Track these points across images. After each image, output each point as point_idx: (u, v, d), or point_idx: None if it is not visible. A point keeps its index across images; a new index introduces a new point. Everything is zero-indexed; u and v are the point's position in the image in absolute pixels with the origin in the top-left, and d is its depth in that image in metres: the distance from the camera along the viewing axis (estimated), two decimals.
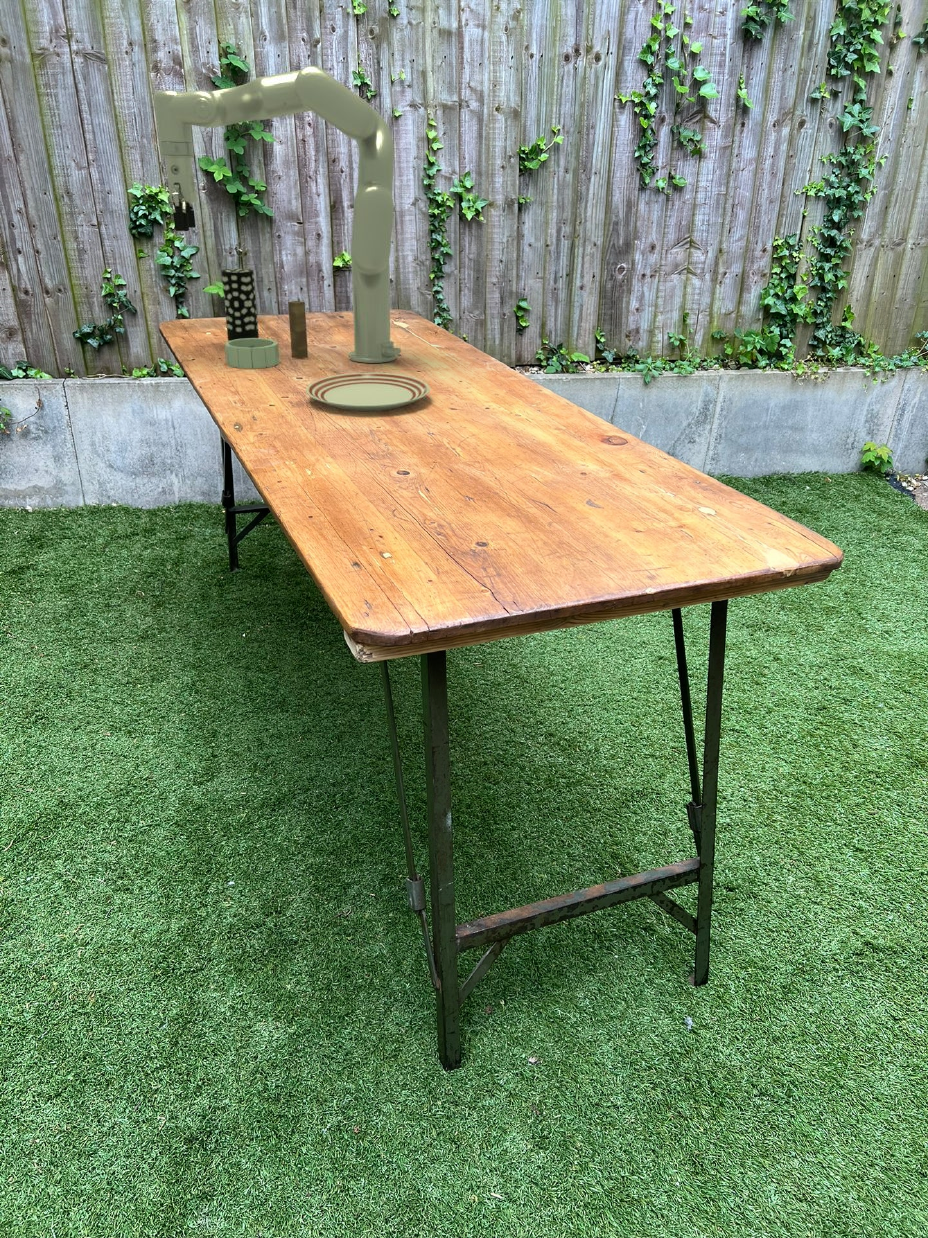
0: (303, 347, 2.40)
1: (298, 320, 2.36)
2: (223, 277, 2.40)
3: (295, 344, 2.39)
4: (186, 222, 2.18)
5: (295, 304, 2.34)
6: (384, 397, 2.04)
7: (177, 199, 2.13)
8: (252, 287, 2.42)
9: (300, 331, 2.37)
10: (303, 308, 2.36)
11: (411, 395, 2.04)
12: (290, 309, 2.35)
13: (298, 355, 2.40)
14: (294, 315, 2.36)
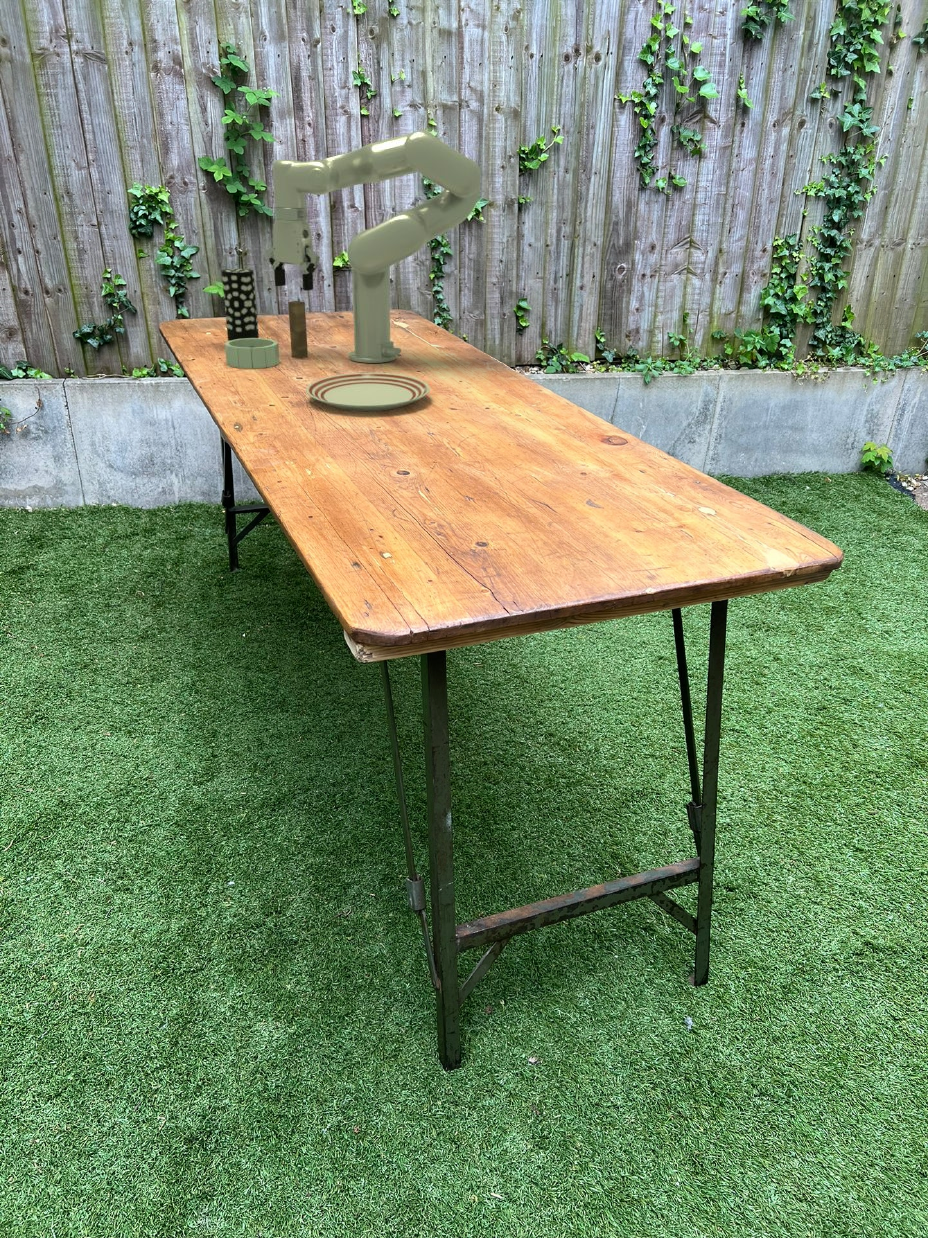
0: (303, 347, 2.40)
1: (298, 320, 2.36)
2: (223, 277, 2.40)
3: (295, 344, 2.39)
4: None
5: (295, 304, 2.34)
6: (384, 396, 2.04)
7: (317, 261, 2.27)
8: (252, 287, 2.43)
9: (300, 331, 2.37)
10: (303, 308, 2.36)
11: (411, 395, 2.04)
12: (290, 309, 2.35)
13: (298, 355, 2.40)
14: (294, 315, 2.36)
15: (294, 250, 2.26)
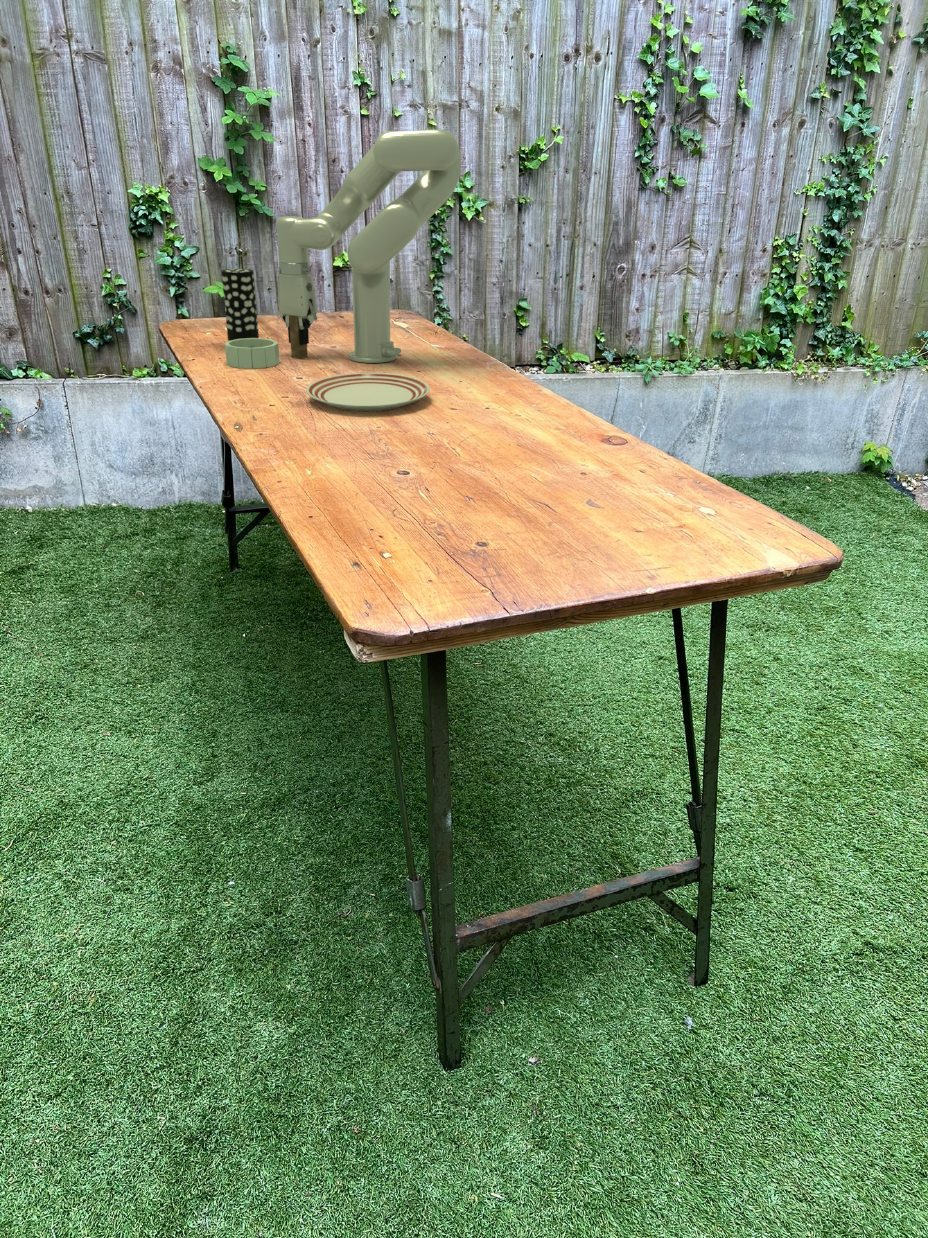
0: (303, 347, 2.40)
1: (298, 320, 2.36)
2: (223, 277, 2.40)
3: (295, 344, 2.39)
4: (307, 336, 2.39)
5: None
6: (384, 396, 2.04)
7: None
8: (252, 287, 2.42)
9: None
10: None
11: (411, 395, 2.04)
12: None
13: (298, 355, 2.40)
14: None
15: (298, 303, 2.32)
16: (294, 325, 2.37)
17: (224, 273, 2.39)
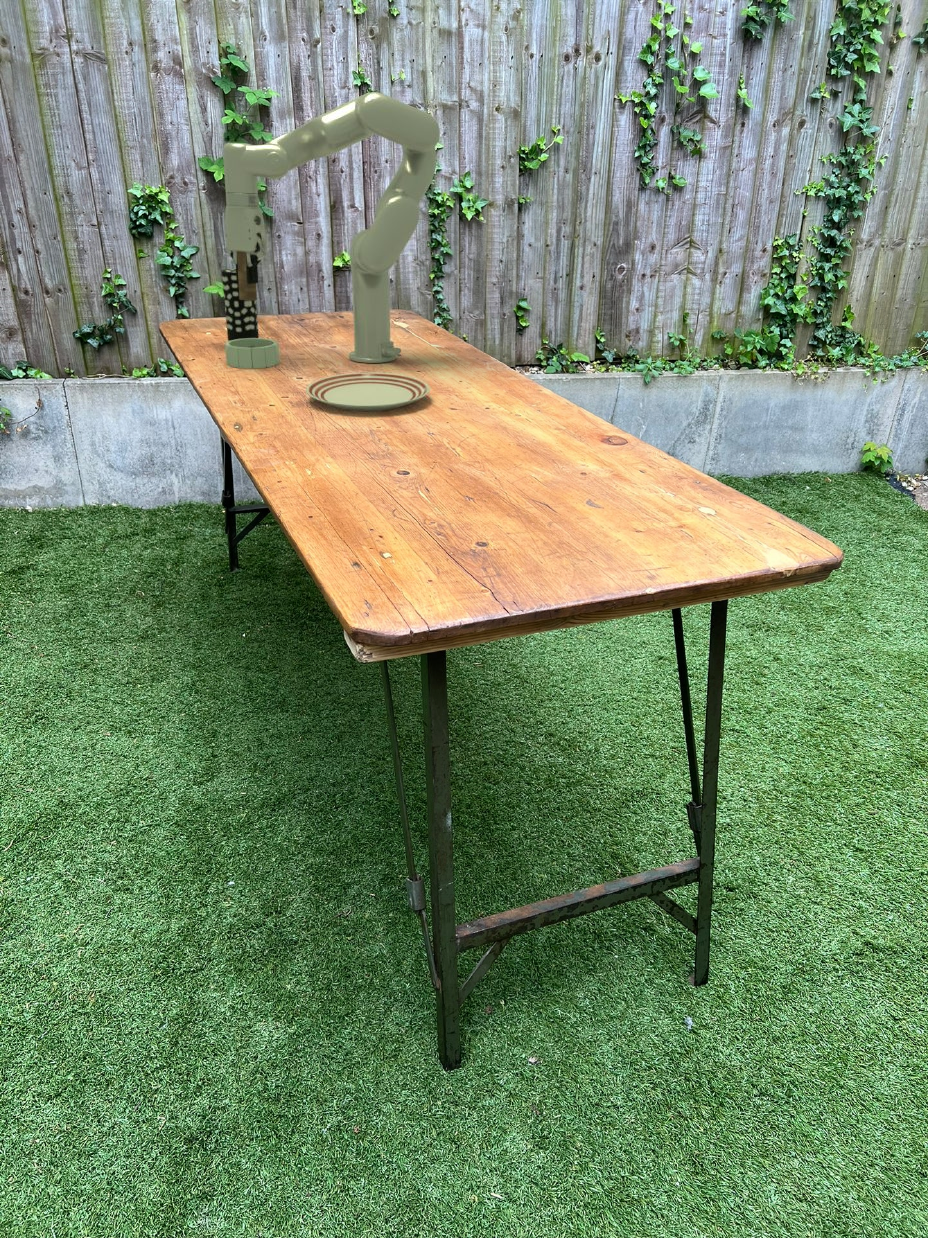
0: (251, 289, 2.25)
1: (246, 258, 2.21)
2: (223, 277, 2.40)
3: (243, 285, 2.25)
4: (256, 274, 2.25)
5: None
6: (384, 396, 2.04)
7: (262, 257, 2.20)
8: None
9: None
10: None
11: (411, 395, 2.04)
12: None
13: (246, 297, 2.25)
14: (242, 253, 2.21)
15: (246, 237, 2.18)
16: (242, 264, 2.22)
17: (224, 273, 2.39)
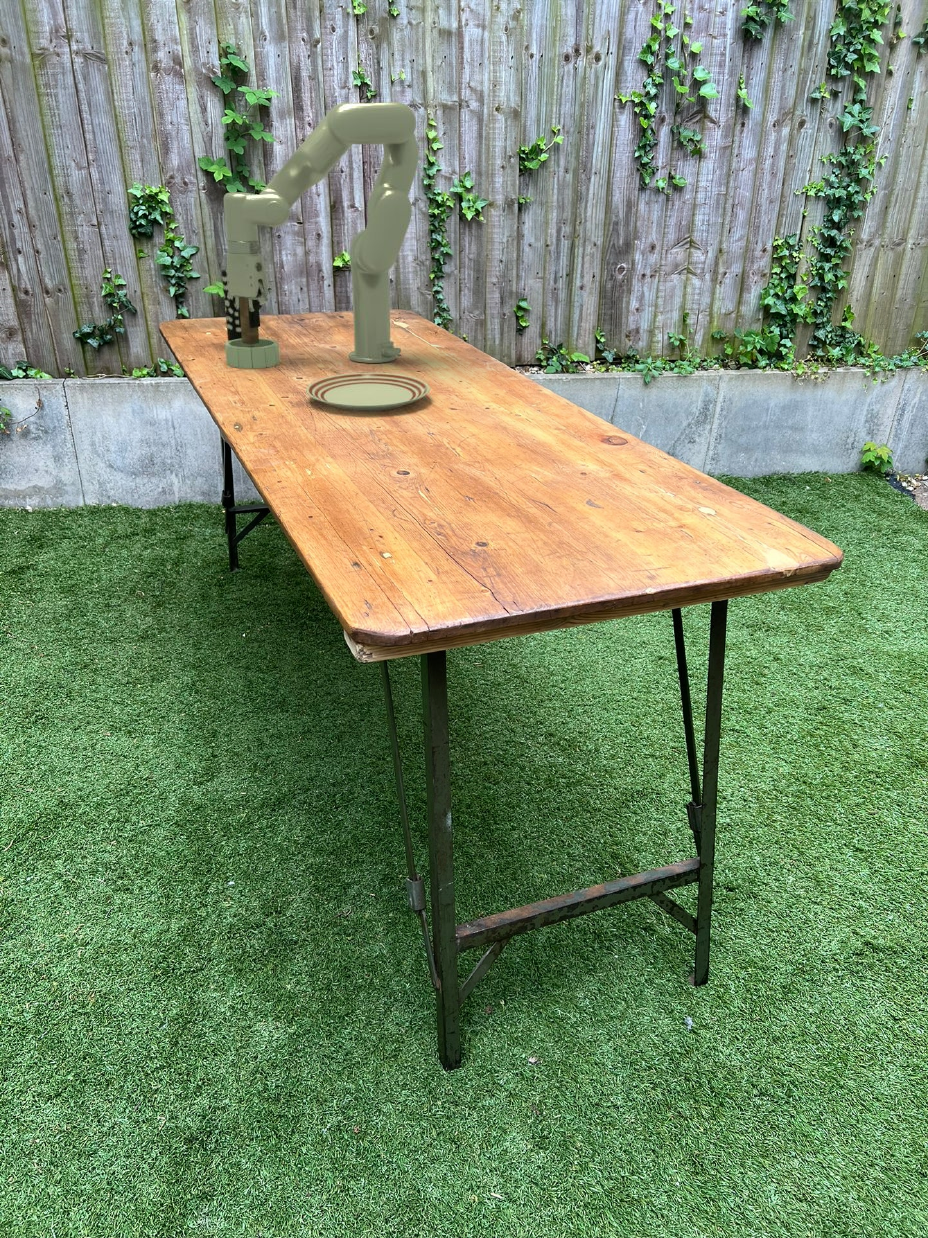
0: (254, 333, 2.30)
1: (248, 303, 2.26)
2: (223, 277, 2.40)
3: (246, 329, 2.29)
4: (258, 318, 2.29)
5: None
6: (384, 396, 2.04)
7: None
8: None
9: None
10: None
11: (411, 395, 2.04)
12: None
13: (248, 341, 2.30)
14: (244, 299, 2.26)
15: (247, 284, 2.22)
16: (244, 309, 2.27)
17: (224, 273, 2.39)
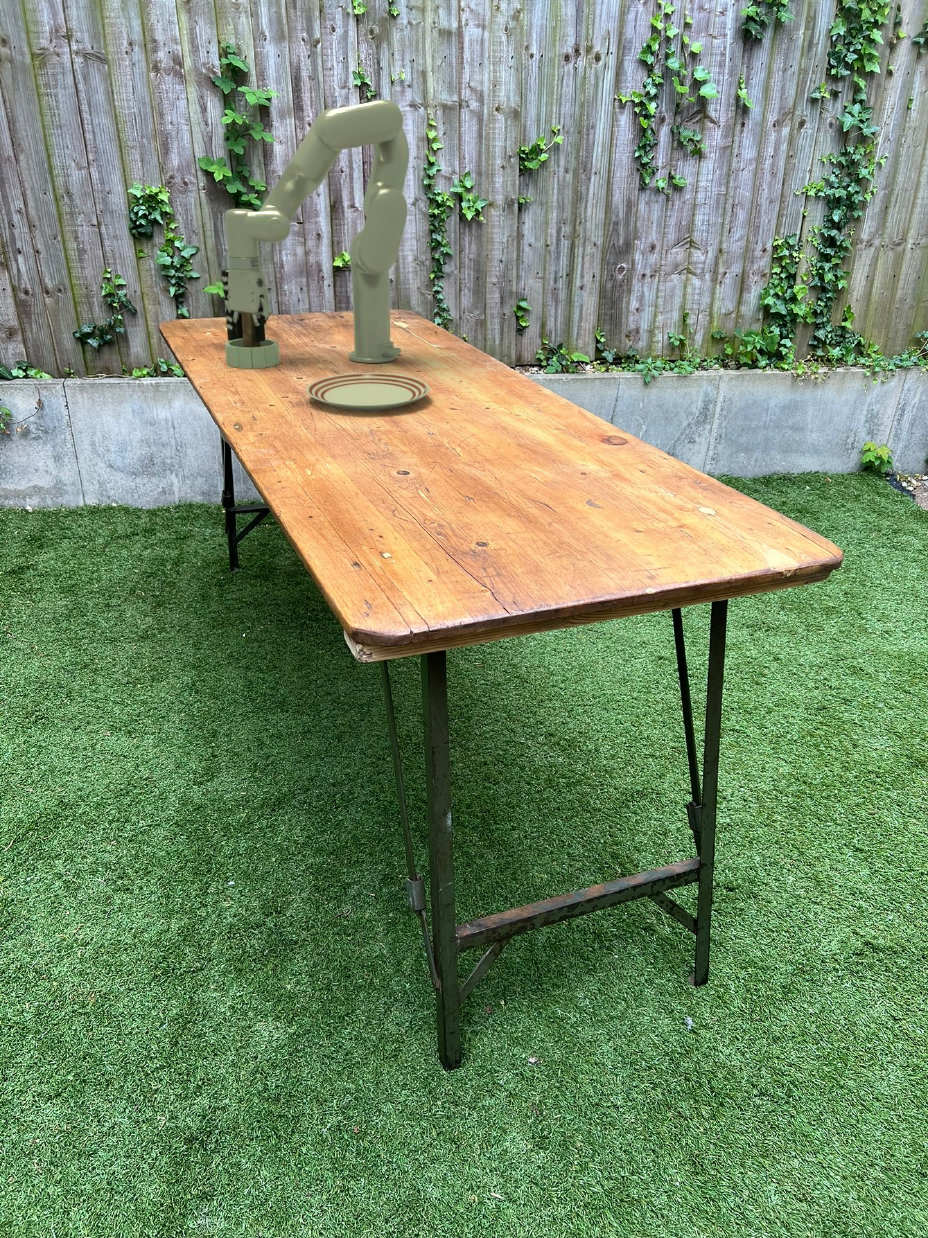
0: None
1: (251, 322, 2.28)
2: (223, 277, 2.40)
3: (248, 347, 2.31)
4: None
5: None
6: (384, 396, 2.04)
7: (269, 315, 2.25)
8: None
9: (253, 334, 2.29)
10: None
11: (411, 395, 2.04)
12: None
13: None
14: (247, 317, 2.28)
15: (249, 299, 2.24)
16: (247, 327, 2.29)
17: (224, 273, 2.39)
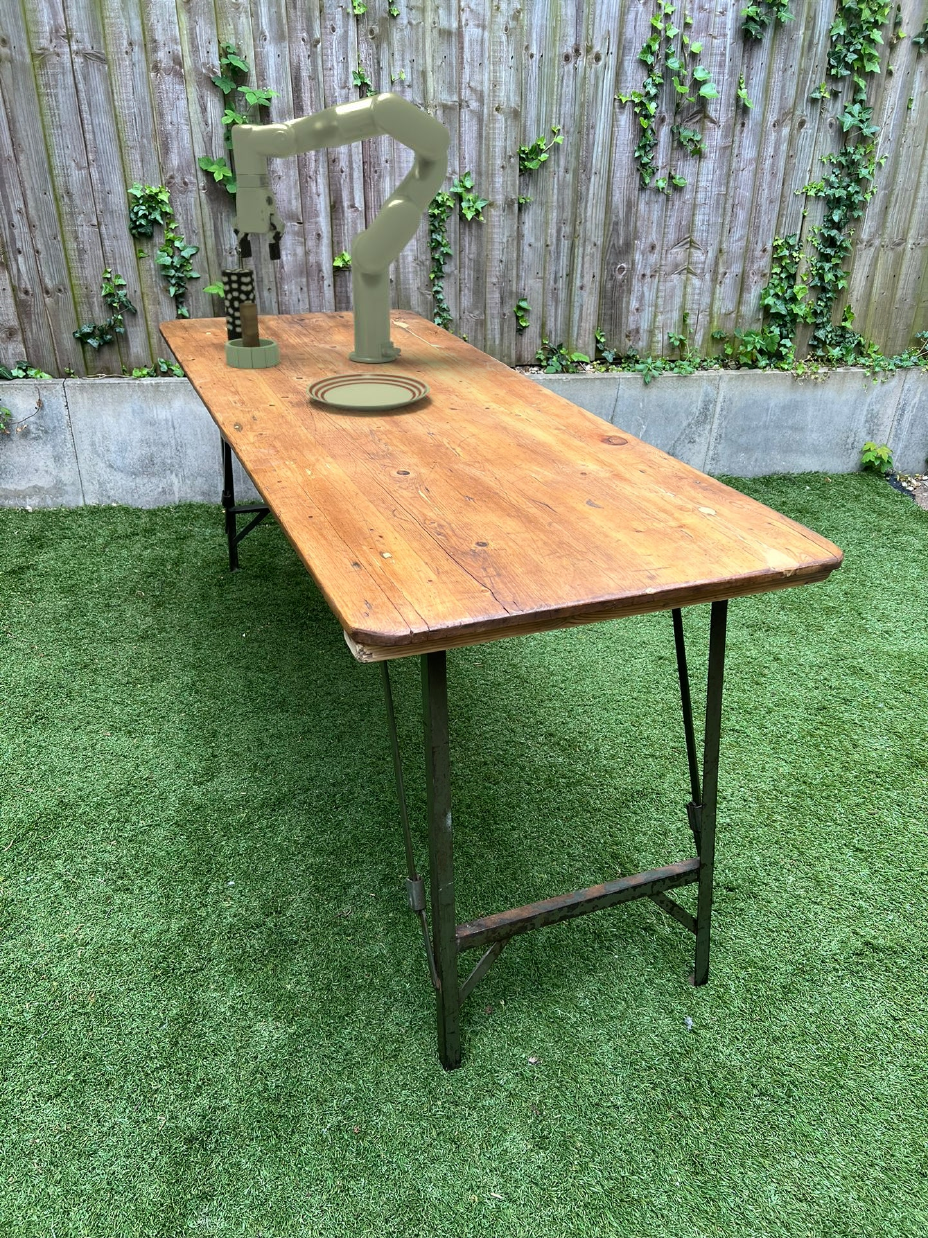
0: None
1: (250, 322, 2.28)
2: (223, 277, 2.40)
3: None
4: None
5: (246, 306, 2.26)
6: (384, 397, 2.04)
7: (283, 229, 2.19)
8: (252, 287, 2.42)
9: (252, 334, 2.29)
10: (255, 310, 2.28)
11: (411, 395, 2.04)
12: (241, 311, 2.28)
13: None
14: (245, 318, 2.28)
15: (259, 218, 2.19)
16: (246, 328, 2.29)
17: (224, 273, 2.39)
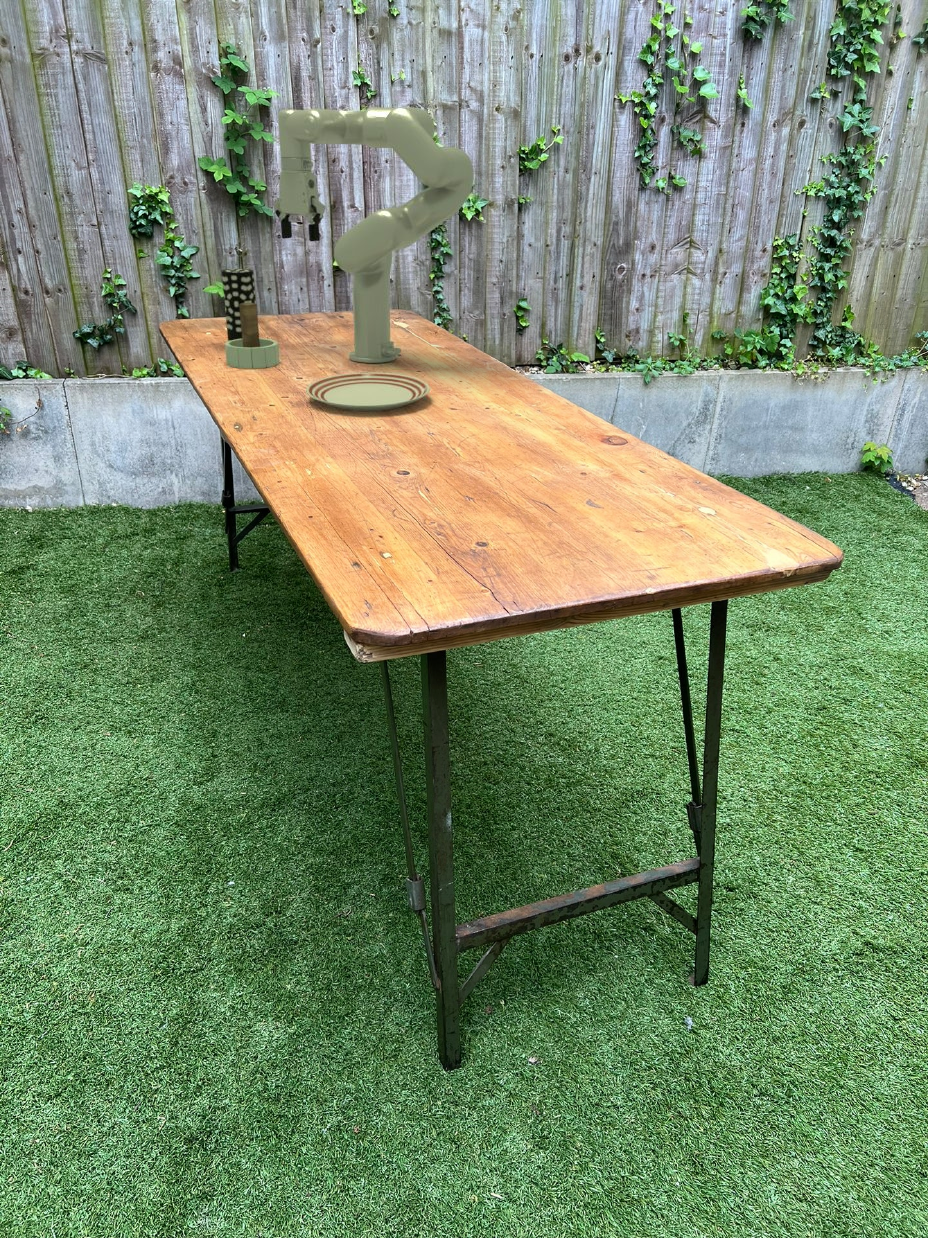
0: None
1: (250, 322, 2.28)
2: (223, 277, 2.40)
3: None
4: None
5: (246, 306, 2.26)
6: (384, 396, 2.04)
7: (323, 211, 2.29)
8: (252, 287, 2.42)
9: (252, 334, 2.29)
10: (255, 310, 2.28)
11: (411, 395, 2.04)
12: (241, 311, 2.28)
13: None
14: (245, 318, 2.28)
15: (300, 200, 2.28)
16: (246, 328, 2.29)
17: (224, 273, 2.39)
